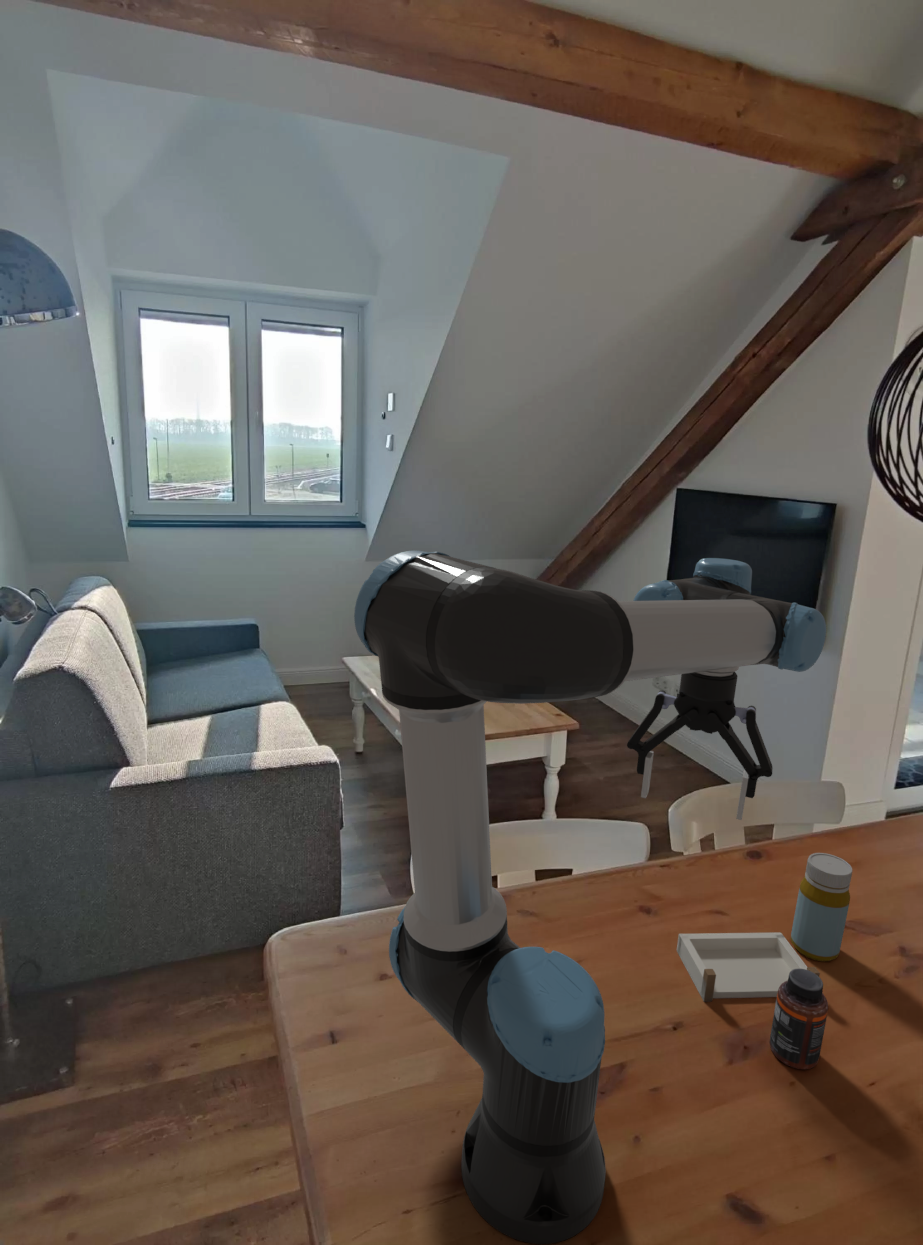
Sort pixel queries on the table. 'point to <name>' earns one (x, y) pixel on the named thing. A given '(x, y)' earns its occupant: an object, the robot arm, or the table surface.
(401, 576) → the robot arm
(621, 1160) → the table surface
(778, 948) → the bay
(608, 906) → the table surface
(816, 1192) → the table surface
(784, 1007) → the supplement bottle
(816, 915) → the bottle
